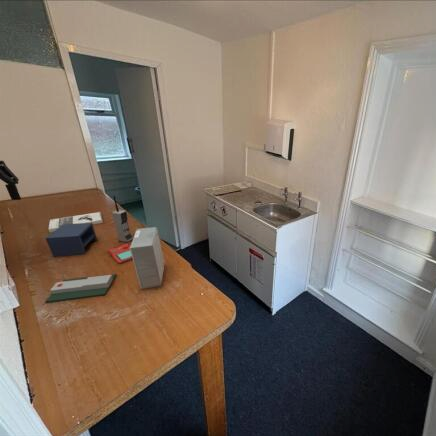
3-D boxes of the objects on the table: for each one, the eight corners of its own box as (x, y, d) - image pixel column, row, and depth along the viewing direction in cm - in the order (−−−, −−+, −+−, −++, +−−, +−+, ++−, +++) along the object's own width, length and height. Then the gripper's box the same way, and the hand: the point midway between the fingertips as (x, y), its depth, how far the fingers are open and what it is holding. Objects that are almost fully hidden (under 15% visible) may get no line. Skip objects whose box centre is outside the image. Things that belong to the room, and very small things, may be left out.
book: (49, 232, 125) (48, 229, 124) (51, 222, 135) (50, 219, 134) (103, 222, 139) (102, 219, 138) (101, 214, 148) (100, 211, 148)
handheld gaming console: (128, 242, 120) (140, 254, 111) (128, 244, 120) (141, 256, 112) (107, 249, 113) (118, 262, 105) (107, 251, 113) (119, 264, 105)
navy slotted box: (53, 256, 107) (45, 238, 103) (69, 241, 119) (62, 224, 115) (84, 254, 110) (78, 235, 106) (97, 239, 122) (92, 222, 118)
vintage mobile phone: (127, 242, 122) (116, 197, 111) (119, 241, 122) (107, 196, 112) (133, 239, 125) (122, 195, 115) (125, 237, 126) (113, 194, 115)
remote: (51, 294, 86) (48, 289, 85) (58, 285, 90) (56, 280, 89) (108, 287, 91) (106, 282, 90) (113, 279, 95) (111, 274, 94)
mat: (45, 303, 83) (45, 301, 83) (64, 281, 93) (63, 279, 93) (105, 295, 88) (104, 293, 88) (116, 275, 99) (116, 273, 98)
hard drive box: (145, 267, 105) (137, 228, 97) (164, 264, 108) (157, 226, 99) (140, 290, 92) (129, 247, 84) (161, 286, 95) (153, 244, 86)
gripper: (-42, 158, 73) (-11, 218, 82) (17, 145, 94) (37, 194, 103) (-75, 157, 71) (-40, 219, 80) (-7, 144, 92) (15, 195, 101)
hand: (3, 205), depth 91 cm, fingers open, 13 cm apart
